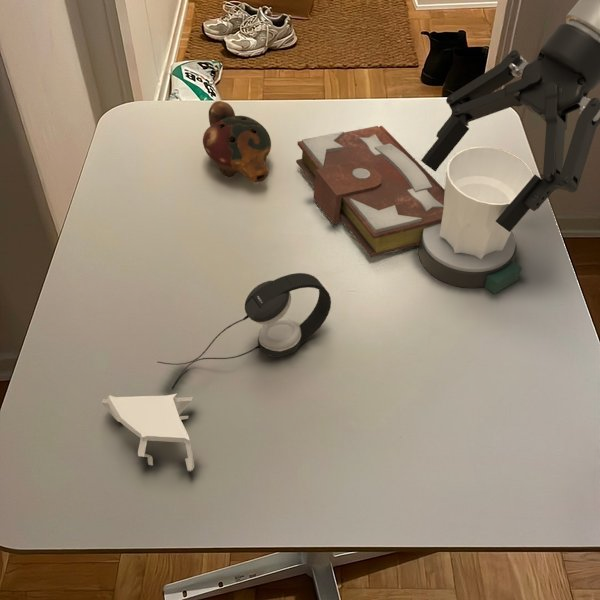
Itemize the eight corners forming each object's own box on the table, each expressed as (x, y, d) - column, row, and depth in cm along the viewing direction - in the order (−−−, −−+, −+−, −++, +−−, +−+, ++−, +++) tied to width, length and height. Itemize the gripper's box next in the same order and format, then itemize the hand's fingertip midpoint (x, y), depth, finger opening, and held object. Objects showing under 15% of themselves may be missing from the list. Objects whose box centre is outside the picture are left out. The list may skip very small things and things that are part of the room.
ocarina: (239, 132, 116) (239, 87, 110) (292, 185, 108) (295, 139, 102) (184, 150, 112) (181, 104, 106) (235, 206, 104) (235, 160, 98)
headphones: (173, 390, 84) (322, 305, 88) (188, 418, 82) (341, 329, 85) (144, 341, 77) (308, 251, 80) (159, 370, 74) (329, 275, 78)
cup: (440, 199, 97) (454, 139, 89) (516, 216, 95) (538, 156, 87) (426, 252, 91) (440, 193, 83) (507, 272, 89) (529, 213, 81)
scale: (539, 267, 94) (545, 248, 91) (471, 307, 89) (475, 289, 87) (466, 213, 101) (469, 196, 99) (399, 249, 96) (401, 231, 94)
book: (464, 237, 99) (472, 207, 96) (363, 263, 94) (368, 233, 90) (380, 148, 114) (385, 119, 110) (289, 167, 108) (291, 137, 105)
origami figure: (221, 416, 79) (217, 388, 75) (193, 484, 73) (187, 457, 70) (118, 393, 81) (109, 365, 77) (83, 457, 75) (71, 430, 72)
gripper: (691, 107, 76) (550, 265, 82) (524, 16, 92) (415, 154, 97) (673, 74, 71) (524, 245, 76) (499, -17, 86) (385, 132, 92)
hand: (463, 195), depth 87 cm, fingers open, 13 cm apart
